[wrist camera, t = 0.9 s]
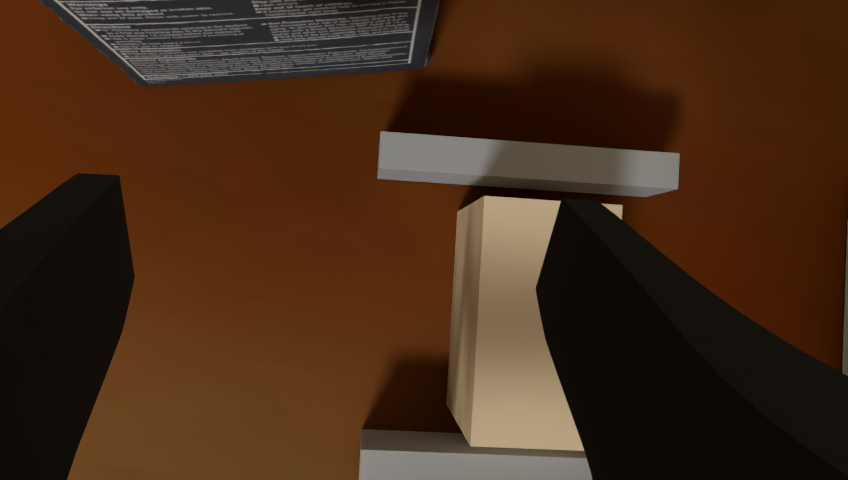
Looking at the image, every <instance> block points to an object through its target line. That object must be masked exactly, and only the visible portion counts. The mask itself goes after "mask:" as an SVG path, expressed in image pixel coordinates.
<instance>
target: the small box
mask: <svg viewBox="0 0 848 480" xmlns="http://www.w3.org/2000/svg"><path fill="white" fill-rule="evenodd" d="M40 2H41V3H42V4H43V5H45V6H47V7H49V8H50V9H51V11H52V12H53V13H55V14H56V15H57V16H59V17H60V18H61V20H62V21H63V22H65V23H66V24H68V25H69V26H70V27H72V28H73V29H74V30H75V31H76V32H77V33H79V34H80V35H81V36H82V37H83V38H85V39H86V40H87V41H88V42H90V43H91V44H92V45H93V46H94V47H95V48H97V49H98V50H99V51H100V52H102V53H104V54H105V55H106V57H107V58H108V59H110V60H111V61H112V62H113V63H115V64H117V65H118V66H119V67H120V68H121V69H122V70H123V71H124V72H125V73H126V74H127V75H128V76H130V77H131V78H132V79H133V80H134V81H135V82H136V83H137V84H138V85H139V86H142V87H146V86H156V85H179V84H198V83H211V82H229V81H231V82H237V81H243V80H263V79H277V78H295V77H316V76H329V75H344V74H358V73H374V72H388V71H401V70H414V69H417V70H422V69H423V68H424V67H425V66H426V65H427V63H428V62H429V61H430V59H431V54H430V52H429V48H430V44H431V40H432V36H433V32H434V28H435V25H436V21H437V17H438V12H439V8H440V2H441V0H40Z"/></svg>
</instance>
